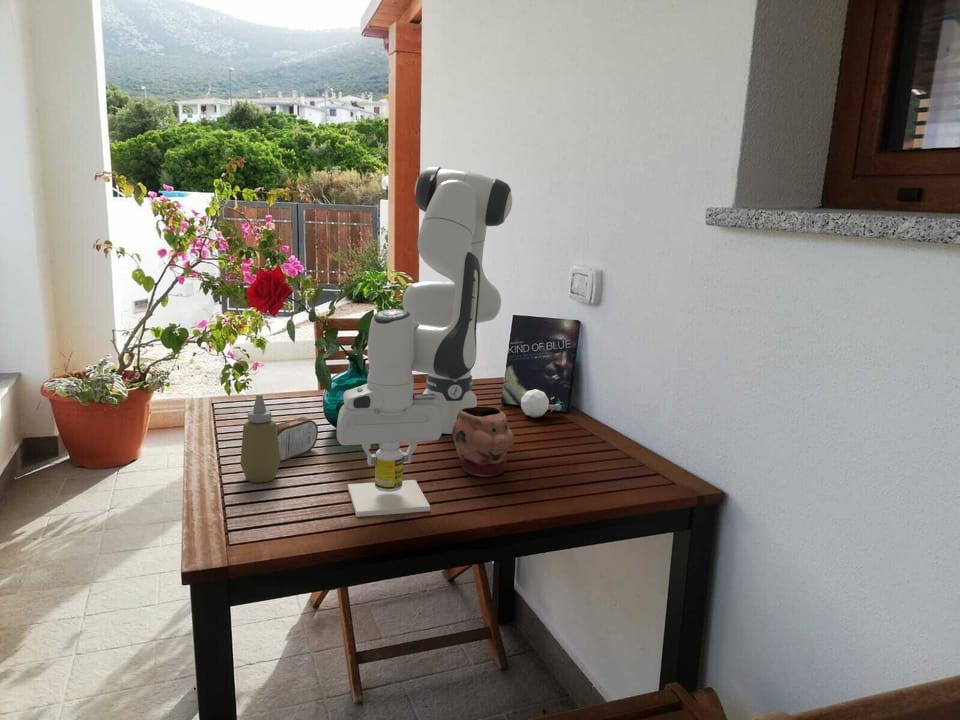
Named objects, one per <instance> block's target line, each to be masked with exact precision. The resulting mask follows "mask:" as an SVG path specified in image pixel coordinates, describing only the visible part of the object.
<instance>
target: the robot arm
mask: <svg viewBox="0 0 960 720" xmlns="http://www.w3.org/2000/svg"><path fill="white" fill-rule="evenodd" d="M414 198H415V204H416V206H417V207H418V208H419V210H420V211H422V212H424V216H423V219H422V221H421V225H420V229H419V233H418V237H417V249H418V250H417V251H418V253H419V256H420V258H421V259H422V261H423V262H424V263H425V264H426V265H427V266H428V267H429V268H431V269H432V270H433V271H435V272H436V273H438V274H440V275H441V276H443V277H445V278H447V279H449V280H426V281H425V280H424V281H418V282H414V283H410V284H409V286H408V287H407V288H406V289H405V291H404V294H403V297H402V308H403V309H401V308H399V309H398V308H392V309H383V310H380V311H379V312H376V313H375V314H374V315H373V316H372V318H371V319H370V320H371V321H370V325H369V329H368V337H367V361H368V365H369V370H368V373H367V374H368V375H367V379H366V382H367V383H365V384H362V385H360V386H357V387H354V388H351V389H347V390H345V391H343V395H342V396H343V402H344V404H342V405H341V407H340V409H339V412H338V416H337V422H336V440H337V441H338V442H339V444H340V445H341V446H354V445H361V447H362V449H363V450H362V451H364V453H365V454H366V456H367V459H366V461H367V465H368V466H375V465H376V453H371V451H370V449H371V447H372V446H371V445H373V444H379V443H392V442H400V443H407V444H408V448H407V449H406V451H402V452H403V464H411V461H412V455H413V453H414V451H415V450H416V448H418V442H427V441H428V442H429V441H430V442H431V441H438V440H439V439H441V436H442V434H446V435H448V434H449V435H452V430H453V426H454V424H455V422H456V421H457V415H458V413H459V411H460V410H461V409H463V408H466V407H475V406H478V404H477V400H478V399H477V395H476V394H474V392H473V391H472V388H473V376H472V374H471V373H472V369H473V368H474V365H475V364H476V360H477V325H478V324H480V323H485V322H489V321H493V320H494V319H496V317H497V316H498V314H499V312H500V311H501V306H502V299H501V295H500V292H499V290H498V288H497V287H496V286H495V285H494V284H492V283H491V281H489V279H488V278H487V276H486V274H485V272H484V269H483V256H484V247H485V242H486V235H487V228H488V227H498V226H500V225H502V224H503V223H505V221H506V219H507V218H508V216H509V215H510V213H511V209H512V206H513V196H512V189H511V187H510V185H509V184H508V183H507V182H505V181H503V180H501V179H499V178H495V179H494V178H491V177H488V176H485V175H483V174H479V173H476V172H471V171H463V170H457V169H450V168H449V169H448V168H441V166H427V167H426V168H425V169H423V170H421V172H420V174H419V176H418V177H417V179H416V182H415V186H414ZM413 372H417V373H424V374H427V375H426V384H425V386H426V388H425V390H424V391H423V393H414V385H415V384H414V383H415V382H414V375H413Z"/></svg>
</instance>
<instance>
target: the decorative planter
mask: <svg viewBox="0 0 960 720" xmlns="http://www.w3.org/2000/svg"><path fill="white" fill-rule="evenodd" d="M507 419H508V418H507V415H506V413H504V412H503V411H502V409H499V408H497V407H493V406H488V405H487V406H486V405H477V406H475V407H466V408H463V409H461V410H460V411H459V413H458V415H457V421H456V422H455V424H454V426H453V430H452V434H451V436H452V440H453V442H454V445H455V448H456V453H457V456H458V459H459V461H460V466H461V468H462V470H463V471H464V472H466V473H468V474H470V475H473V476H475V477H477V476H478V477H494V476H498V475H501V474H503V473H505V470H506V467H507V464H508V461H507V460H508V456H507V451H508V449H509V448H511V447H512V446H513V445H514V441H515V437H514V436H515V435H514V433H513V431H512V430H511V428H510V426H509V424H508V420H507Z"/></svg>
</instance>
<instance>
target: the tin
mask: <svg viewBox="0 0 960 720" xmlns="http://www.w3.org/2000/svg"><path fill="white" fill-rule="evenodd" d="M276 427H277V435H278V443H279V452H280V462H285V461H288V460H291V459H294V458H296V457H299V456H302V455H306V454H307V453H309V452H311V450H313V448H314V447H315V445H316V444H317V441H318V435H319V427H318V424H317V423H316V422H315V421H314V420H312V419H309V418H307V417H305V416H302V417H298V418H295V419H291V420H287V421H284V422H281V423H276Z"/></svg>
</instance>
